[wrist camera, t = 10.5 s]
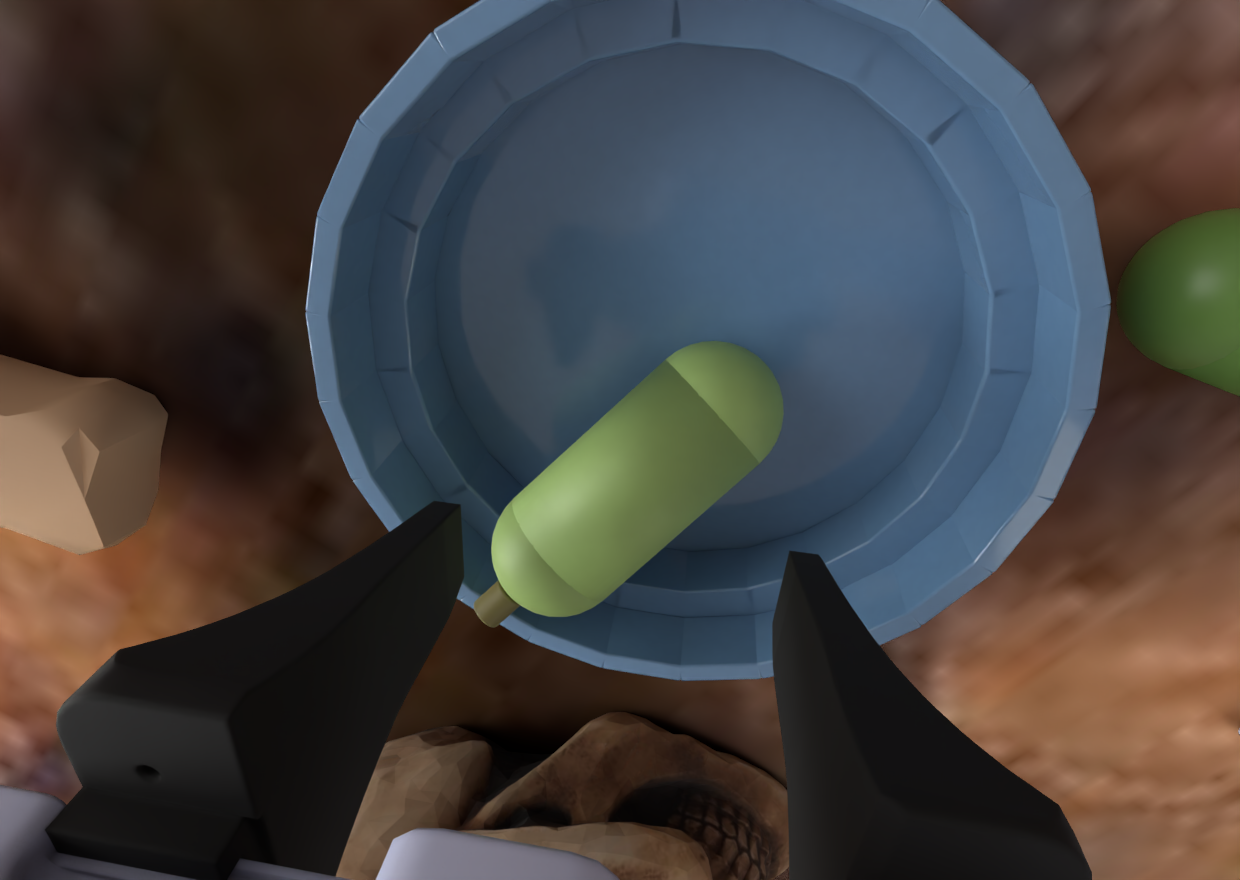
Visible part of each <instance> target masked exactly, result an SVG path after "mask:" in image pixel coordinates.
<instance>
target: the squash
mask: <svg viewBox="0 0 1240 880" xmlns="http://www.w3.org/2000/svg"><path fill="white" fill-rule="evenodd" d="M167 418H168V413H167V412H166V410H165V409H164V408H163V406H162V405H161V403H160V402H159V401H158V399H157V398H156V397H155V395H153V394H151V393H148V392H146V391H144V390H141V389H139V388H137V387H134V386H132V385H130V384H127V383H125V382H123V381H120V380H118V379H116V378H84V377H75V376H72V375H69V374H65V373H62V372H58V371H55V370H52V369H48V368H45V367H41V366H38V365H35V364H31V363H28V362H24V361H21V360H18V359H14V358H11V357H7V356H4V355H1V354H0V527H2V528H7V529H10V530H12V531H15V532H18V533H21V534H23V535H26V536H29V537H32V538H34V539H37V540H40V541H43V542H45V543H48V544H51V545H54V546H56V547H59V548H62V549H64V550H67V551H70V552H73V553H75V554H78V555H81V554H85V553H89V552H93V551H96V550H100V549H104V548H108V547H112V546H115V545H117V544H119V543H120V542H122V541H123V540H125V539H126V538H127V537H129V536H130V535H132V534H133V533H135V532H136V531H138V530H139V529H141V528H142V527H143V526H145V525H146V523H147V520H148V517H149V514H150V512H151V509H152V506H153V503H154V501H155V498H156V495H157V492H158V490H159V476H160V461H161V448H162V443H163V438H164V433H165V428H166V423H167Z"/></svg>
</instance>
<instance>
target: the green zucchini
mask: <svg viewBox="0 0 1240 880" xmlns="http://www.w3.org/2000/svg"><path fill="white" fill-rule="evenodd" d="M1116 308H1117V314H1118V318H1119V322H1120V325H1121V327H1122V329H1123V331H1124V333H1125V335H1126V336H1127V338H1128V339H1129V341H1130V342H1131V343H1132V344H1133V345H1134V346H1135V347H1136V348H1137V349H1138V350H1139V351H1140V352H1141V353H1142V354H1143V355H1145V356H1146V357H1147V358H1149V359H1151V360H1153V361H1155V362H1157V363H1159V364H1160V365H1162V366H1164V367H1166V368H1169V369H1171V370H1174V371H1177V372H1179V373H1182V374H1184V375H1187V376H1189V377H1192V378H1194V379H1197V380H1199V381H1202V382H1204V383H1207V384H1209V385H1212V386H1214V387H1217V388H1219V389H1222V390H1224V391H1227V392H1229V393H1232V394H1234V395H1237V396H1239V397H1240V208H1231V209H1223V210H1216V211H1208V212H1204V213H1201V214H1198V215H1195V216H1192V217H1189V218H1186V219H1183V220H1180V221H1178V222H1176V223H1174V224H1172V225H1171V226H1169V227H1167V228H1166V229H1164V230H1162V231H1161V232H1159V233H1158V234H1156V235H1155V236H1153V237H1152V238H1151V239H1150V240H1149V241H1147V242H1146V243H1145V244H1144V245H1143V246H1142V247H1141V248H1140V249H1139V250H1138V251H1137V253H1136V254H1135V255H1134V256H1133V258H1132V259H1131V261H1130V262H1129V264H1128V265H1127V267H1126V269H1125V270H1124V272H1123V274H1122V277H1121V279H1120V282H1119V286H1118V292H1117V302H1116Z"/></svg>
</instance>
